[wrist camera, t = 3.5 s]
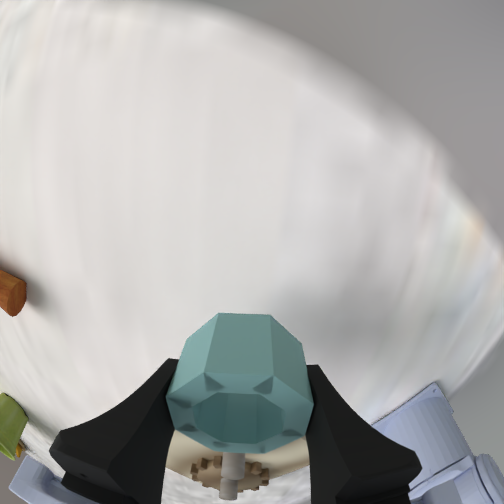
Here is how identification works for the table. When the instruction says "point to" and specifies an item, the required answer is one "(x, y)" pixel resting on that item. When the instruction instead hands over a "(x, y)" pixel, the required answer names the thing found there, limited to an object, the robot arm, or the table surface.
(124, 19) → the table surface
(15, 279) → the kendama
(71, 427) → the robot arm
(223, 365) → the teal faceted ring
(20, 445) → the toy sandwich meal
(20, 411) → the plant pot
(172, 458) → the gear board
